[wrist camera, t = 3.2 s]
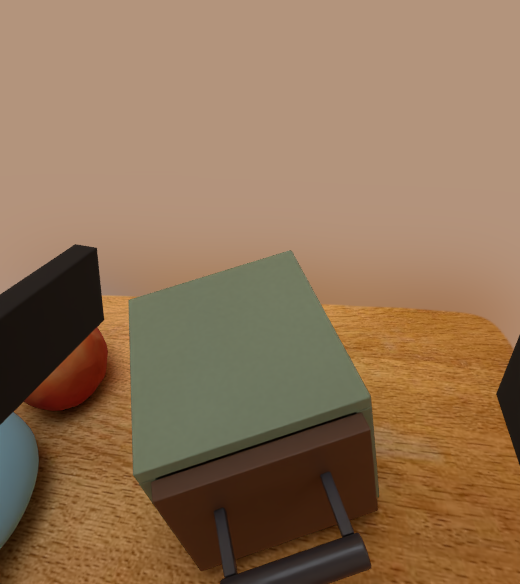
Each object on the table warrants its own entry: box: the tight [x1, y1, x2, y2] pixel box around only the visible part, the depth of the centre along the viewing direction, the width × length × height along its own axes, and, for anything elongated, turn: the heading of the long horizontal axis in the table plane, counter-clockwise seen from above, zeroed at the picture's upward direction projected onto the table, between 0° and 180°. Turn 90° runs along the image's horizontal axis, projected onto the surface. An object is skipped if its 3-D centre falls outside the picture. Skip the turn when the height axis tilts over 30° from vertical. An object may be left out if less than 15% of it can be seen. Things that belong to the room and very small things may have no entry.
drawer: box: [151, 412, 378, 584], centre depth 30 cm, size 19×12×9 cm, turn 14°
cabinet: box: [129, 250, 379, 550], centre depth 34 cm, size 15×13×11 cm
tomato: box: [24, 328, 108, 411], centre depth 43 cm, size 9×9×8 cm
